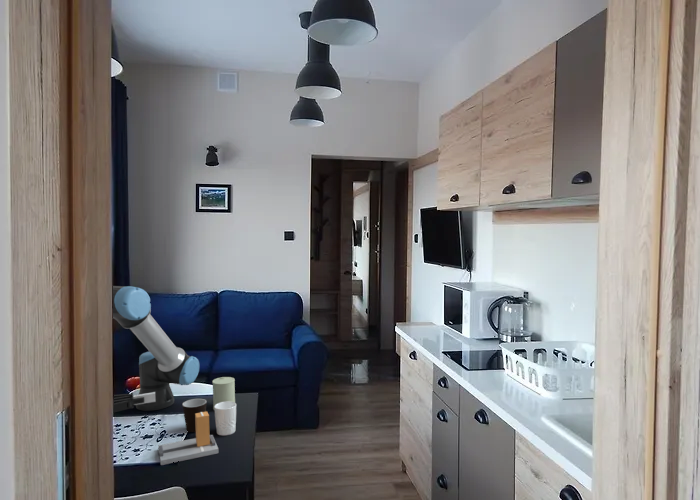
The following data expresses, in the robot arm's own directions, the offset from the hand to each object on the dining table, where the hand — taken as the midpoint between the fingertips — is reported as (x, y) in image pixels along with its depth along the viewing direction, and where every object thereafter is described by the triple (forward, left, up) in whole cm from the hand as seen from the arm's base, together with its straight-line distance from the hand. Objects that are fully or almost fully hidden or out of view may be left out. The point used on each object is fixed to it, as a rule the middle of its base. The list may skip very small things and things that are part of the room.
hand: (155, 396), depth 155 cm
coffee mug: (-19, +15, -21) cm, 32 cm away
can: (-35, +28, -21) cm, 50 cm away
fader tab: (0, +15, -19) cm, 24 cm away
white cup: (-10, +24, -21) cm, 33 cm away
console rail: (0, +10, -20) cm, 23 cm away
